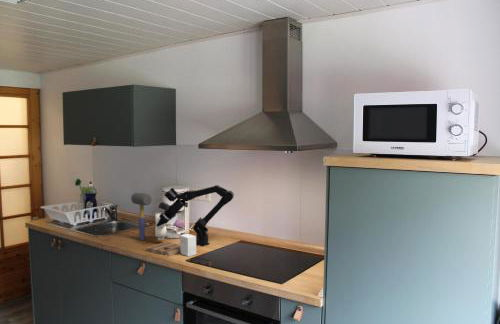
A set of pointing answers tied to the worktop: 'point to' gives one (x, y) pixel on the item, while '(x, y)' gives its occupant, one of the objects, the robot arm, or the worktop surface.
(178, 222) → the cupcake
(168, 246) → the socket board
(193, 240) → the small box
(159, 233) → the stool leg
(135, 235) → the worktop surface
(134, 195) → the rubber mallet
